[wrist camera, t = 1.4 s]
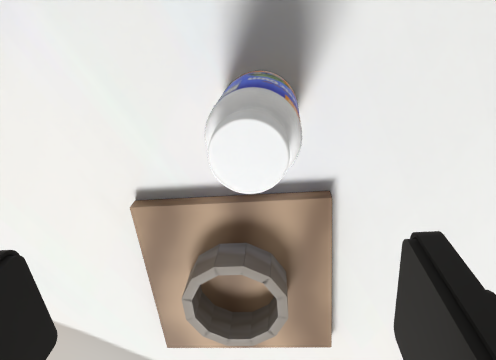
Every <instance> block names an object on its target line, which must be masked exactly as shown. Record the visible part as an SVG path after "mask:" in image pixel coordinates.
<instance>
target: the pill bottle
mask: <svg viewBox="0 0 496 360" xmlns="http://www.w3.org/2000/svg"><path fill="white" fill-rule="evenodd" d="M301 143H302V129H301V123H300V117H299V110H298V103H297V99H296V96H295V93H294V91H293V90H292V88H291V86H290V85H289V84H288V83H287V82H286V81H285V80H284V79H283V78H282V77H280V76H278V75H276V74H274V73H272V72H268V71H252V72H248V73H245V74H243V75H241V76H240V77H238V78H237V79H235V80H234V81H233V82H232V83H231V84H230V85H229V86H228V88H227V89H226V91H225V92H224V93H223V95H222V96H221V97H220V99H219V100H218V102H217V103H216V105H215V106H214V108H213V109H212V111H211V113H210V115H209V117H208V120H207V122H206V127H205V144H206V148H207V151H208V162H209V166H210V168H211V170H212V172H213V174H214V176H215V177H216V178H217V179H218V181H219V182H221V183H222V184H223V185H224V186H226V187H227V188H229V189H231V190H233V191H236V192H239V193H244V194H256V193H261V192H264V191H266V190H269V189H270V188H272V187H274V186H275V185H276V184H277V183H278V182H279V181H280V180H281V179H282V178H283V176H284V175H285V173H286V171H287V170H288V169H289V168H290V167H291V166H292V165H293V163H294V162H295V160H296V158H297V157H298V154H299V152H300V148H301Z"/></svg>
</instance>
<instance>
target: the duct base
mask: <svg viewBox="0 0 496 360" xmlns="http://www.w3.org/2000/svg"><path fill="white" fill-rule="evenodd" d="M130 210H131V214H132V218H133V221H134V225H135V229H136V233H137V236H138V240H139V244H140V247H141V251H142V255H143V259H144V262H145V266H146V270H147V273H148V277H149V281H150V285H151V288H152V292H153V296H154V300H155V303H156V307H157V311H158V314H159V318H160V322H161V326H162V329H163V333H164V337H165V340H166V344H167V348H261V347H331V318H332V196H331V193H330V191H316V192H296V193H276V194H256V195H236V196H216V197H196V198H176V199H156V200H136V201H134V203H133V204H132V205H131V207H130Z"/></svg>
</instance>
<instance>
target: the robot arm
mask: <svg viewBox="0 0 496 360" xmlns="http://www.w3.org/2000/svg"><path fill="white" fill-rule="evenodd" d="M394 333H395V338H396V341H397V344H398V346H399V349H400V352H401V354H402V357H403V360H496V295H495V294H494V293H493V292H491V291H489V290H485V289H484V287H483V286H482V285H481V283H480V282H479V281H478V279H477V278H476V277H475V275H474V274H473V273H472V272H471V270H470V269H469V268H468V266H467V265H466V264H465V262H464V261H463V260H462V258H461V257H460V256H459V254H458V253H457V252H456V250H455V249H454V248H453V246H452V245H451V244H450V242H449V241H448V240H447V239H446V237H445V236H444V235H443V234H442V233H441V232H439V231H434V232H414V233H412V235H411V237H410V239H405V240H404V241H403V244H402V252H401V262H400V271H399V280H398V290H397V299H396V309H395V318H394ZM56 341H57V330H56V328H55V326H54V323H53V321H52V319H51V317H50V314H49V312H48V310H47V308H46V305H45V303H44V301H43V299H42V297H41V294H40V292H39V290H38V288H37V285H36V283H35V281H34V279H33V276H32V274H31V272H30V270H29V267H28V265H27V263H26V261H25V259H24V258H23V257H22V256H20V255H19V253H17V252H16V251H14V250H1V251H0V360H46V358H47V357H48V355H49V354H50V352H51V351H52V349H53V348H54V346H55V344H56Z"/></svg>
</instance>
